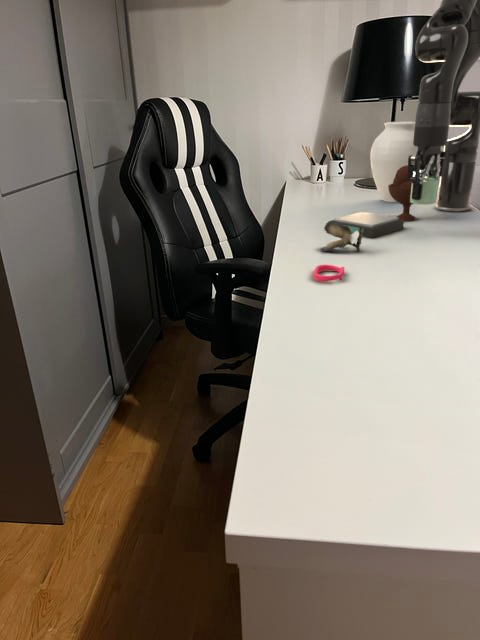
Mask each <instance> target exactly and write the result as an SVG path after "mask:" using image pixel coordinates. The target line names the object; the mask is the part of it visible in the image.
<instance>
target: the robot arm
mask: <svg viewBox="0 0 480 640" xmlns="http://www.w3.org/2000/svg"><path fill="white" fill-rule="evenodd" d="M414 50H415V56H416V58H417V59H418V60H419V61H420V62H423V63H438V62H443V64H442V65H441V68H440V69H439V70H438V71H436V72H432V73H429V74H426V75H424V76H423V77H422V78H421V80H420V84H419V91H418V92H419V93H418V103H417V108H416V112H415V120H414V122H415V129H414V139H413V145H414V146H417V147H418V150H417V153H416V155H415V156H411V155H410V156H409V157H408V181H409V182H411V183H413V188H412V199H413V200H420V199H421V196H422V188H423V184H422V183H423V181H424V178H425V177H427V178H437V179H439V186H438V193H437V199H436V200H437V201H436V209H437V210H439V211H443V212H444V211H445V212H466V211H469V210H470V203H471V196H472V189H473V182H474V177H475V170H476V165H477V164H476V163H477V156H478V150H479V144H480V143H479V142H480V90H477V91H476V90H475V91H459V89H460V87H461V85H462V83H463V81H464V79H465V78H466V76H467V74H468V73H469V71H471V69H472V67H474V65H475V64H476V63H477V61H478V60H479V59H480V0H441V2H440V5H439V7H438V8H437V10H436V11H435V12H434V13H433V14H432V16H430V18H429V19H428V20H427V22H426V23H425V24H424V25H423V27H422V28H421V30H420V31H419V33H418V36H417V38H416V40H415V48H414ZM450 127H469V129H468V130H467V131H466V132H464V133H463V134H461V135H458V136H457V137H453V138H451V139H448V138H449V130H450ZM442 147H444V148H443V150H442V149H441V148H442ZM412 172H413V173H414V174H413V176H412Z"/></svg>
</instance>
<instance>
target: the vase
mask: <svg viewBox="0 0 480 640" xmlns="http://www.w3.org/2000/svg"><path fill="white" fill-rule="evenodd" d="M383 125H384V129H383V131H382V132H381V133H379V135H378V136H377V137H375V139H374V141H373V143H372V145H371V148H370V153H369V154H370V155H369V159H370V167H371V174H372V178H373V181H374V183H375V184H374V185H375V187H376V190H377V192H378V194H379V196H380V197H381V199H382V201H383V202H387V203H398V202H397V201H396V200H394V199H393V198H392V196H391V195H390V193H389V187H388V185H390V184H393V181H394V178H395V175H396V173H397V170H399V169H400V168H401V167H403V166H406V165H408V157H409V156H410V155H411V156H415V155H416V153H417V150H418V147H417V146H414V145H413V139H414V129H415V121H387V122H384V123H383Z"/></svg>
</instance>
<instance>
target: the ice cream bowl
mask: <svg viewBox="0 0 480 640" xmlns="http://www.w3.org/2000/svg"><path fill="white" fill-rule="evenodd" d="M413 174H414V173H413V172H412V176H413ZM411 186H412V183H411V182H409V181H408V165H406V166H403V167H401V168H400V169H399V170H397V173H396V175H395V178H394V181H393V184H390V185H388V187H389V193H390V195H391V196H392V198H393V199H394V200H396V201H397V202H396V203H399V204H400V205H402V207H403V209H402V213H400V214H398V215H397V216H396V217H397V218H399V219H401V220H404V222H412V221H413V222H414V221H416V216H414V215H413V214H411V213H410V211H411V210H410V209H411V206H412V205H415V204H414V203H411V202H410V195H411Z"/></svg>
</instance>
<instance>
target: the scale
mask: <svg viewBox="0 0 480 640" xmlns="http://www.w3.org/2000/svg"><path fill="white" fill-rule="evenodd" d="M333 220H334V221H335V220H336V221H338V222H339V223H341V224H342V225H345V226H348V227H349V229H350V230H351V234H353V233H354V232H355V231H358V232H359V230H360V231H362V229H363V228H364V231H363V236H362V238H363V237H365V238H369V239H375V238H378V237H381V236H385V235H388V234H391V233H394V232H397V231H401V230H404V224H405V221H404V220H401V219H399V218H397V216H390V215H383V214H379V213H371V212H364V211H359V212H356V213H351V214H348V215H344V216H340V217H336V218H334V219H331V220H329V221H328V222H330V221H333Z"/></svg>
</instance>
